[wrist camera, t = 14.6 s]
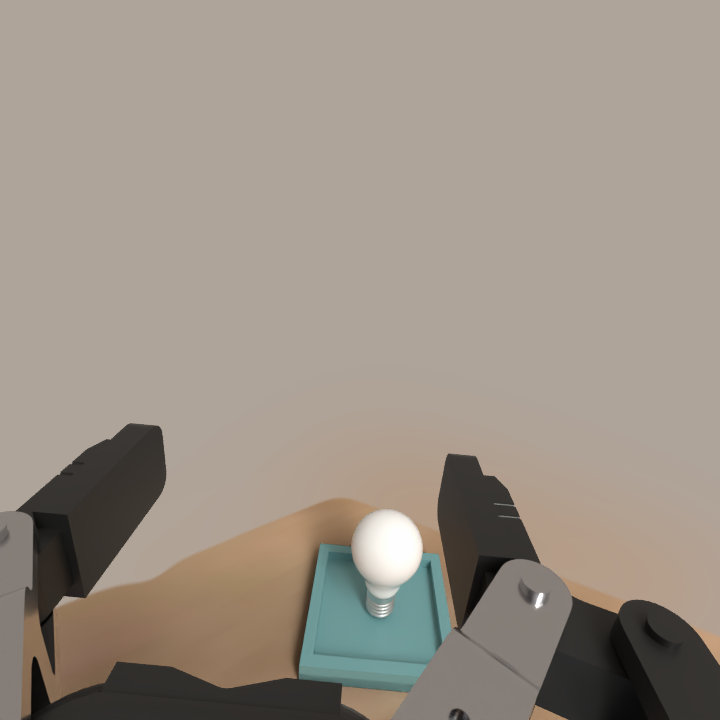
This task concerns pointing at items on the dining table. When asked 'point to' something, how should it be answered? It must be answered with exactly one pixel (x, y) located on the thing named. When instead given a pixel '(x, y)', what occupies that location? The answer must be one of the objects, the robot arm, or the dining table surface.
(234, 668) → the dining table surface
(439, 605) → the tray
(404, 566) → the lightbulb
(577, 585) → the dining table surface
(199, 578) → the dining table surface
